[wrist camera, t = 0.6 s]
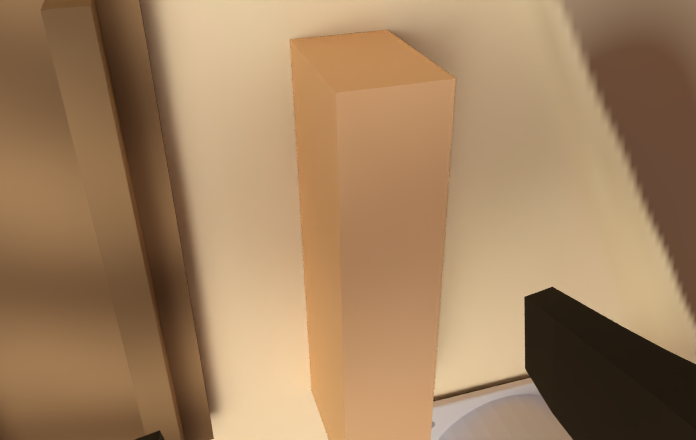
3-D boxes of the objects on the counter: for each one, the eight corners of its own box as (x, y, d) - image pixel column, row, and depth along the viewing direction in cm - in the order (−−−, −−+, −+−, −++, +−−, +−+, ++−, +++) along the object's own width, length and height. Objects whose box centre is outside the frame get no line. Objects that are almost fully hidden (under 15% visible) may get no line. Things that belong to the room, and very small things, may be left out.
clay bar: (380, 370, 27) (428, 467, 23) (310, 387, 26) (346, 489, 22) (384, 28, 20) (455, 78, 16) (288, 37, 19) (336, 92, 15)
